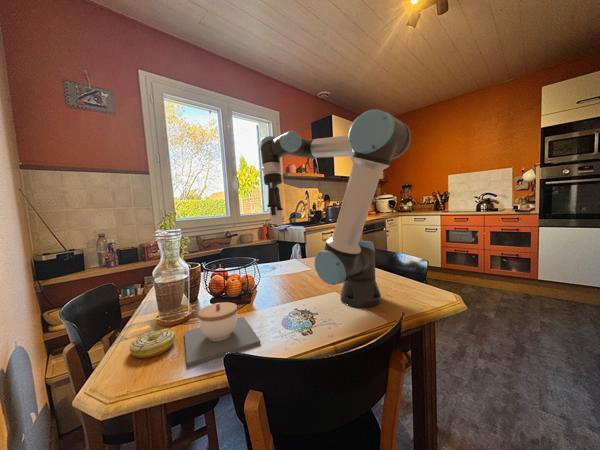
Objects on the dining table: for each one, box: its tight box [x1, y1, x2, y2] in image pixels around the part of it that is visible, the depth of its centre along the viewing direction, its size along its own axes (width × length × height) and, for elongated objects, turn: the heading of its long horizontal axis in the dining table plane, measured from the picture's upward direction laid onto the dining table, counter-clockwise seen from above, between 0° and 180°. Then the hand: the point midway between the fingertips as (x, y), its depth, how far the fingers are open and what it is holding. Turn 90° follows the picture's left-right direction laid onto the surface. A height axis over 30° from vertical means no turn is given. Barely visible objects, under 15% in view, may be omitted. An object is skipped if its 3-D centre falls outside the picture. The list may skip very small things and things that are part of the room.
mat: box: [183, 316, 261, 368], centre depth 69 cm, size 18×18×1 cm
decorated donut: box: [129, 329, 176, 359], centre depth 66 cm, size 10×11×4 cm
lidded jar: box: [197, 301, 239, 341], centre depth 69 cm, size 11×11×9 cm
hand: (277, 224), depth 101 cm, fingers open, 13 cm apart
